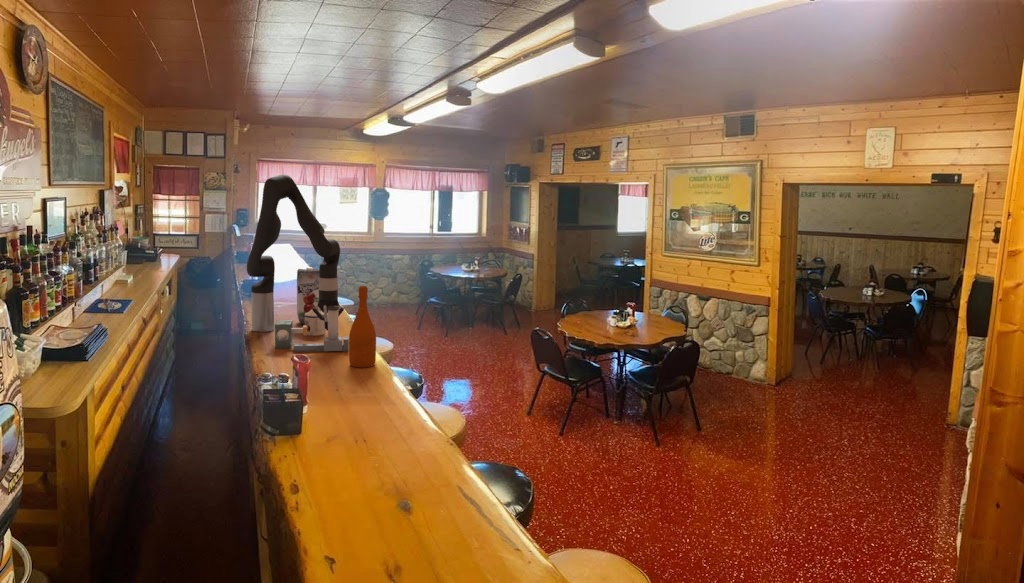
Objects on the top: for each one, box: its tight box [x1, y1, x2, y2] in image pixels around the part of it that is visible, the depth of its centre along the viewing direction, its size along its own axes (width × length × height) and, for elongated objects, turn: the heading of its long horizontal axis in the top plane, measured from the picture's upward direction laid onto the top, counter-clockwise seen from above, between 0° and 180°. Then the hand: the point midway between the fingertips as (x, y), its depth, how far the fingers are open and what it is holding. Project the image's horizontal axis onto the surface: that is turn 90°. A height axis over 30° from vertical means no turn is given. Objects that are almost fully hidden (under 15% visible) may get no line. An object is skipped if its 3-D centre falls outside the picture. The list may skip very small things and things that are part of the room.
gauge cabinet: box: [274, 319, 294, 350], centre depth 262 cm, size 8×6×10 cm
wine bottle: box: [348, 285, 377, 369], centre depth 239 cm, size 10×10×30 cm
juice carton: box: [296, 266, 322, 326], centre depth 304 cm, size 9×10×27 cm
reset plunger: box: [291, 325, 308, 336], centre depth 263 cm, size 3×9×3 cm, turn 104°
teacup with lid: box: [304, 310, 326, 337], centre depth 284 cm, size 12×9×12 cm
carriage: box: [323, 306, 343, 352], centre depth 259 cm, size 6×7×18 cm
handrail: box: [293, 336, 349, 353], centre depth 259 cm, size 5×21×5 cm, turn 104°
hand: (328, 329), depth 266 cm, fingers closed
